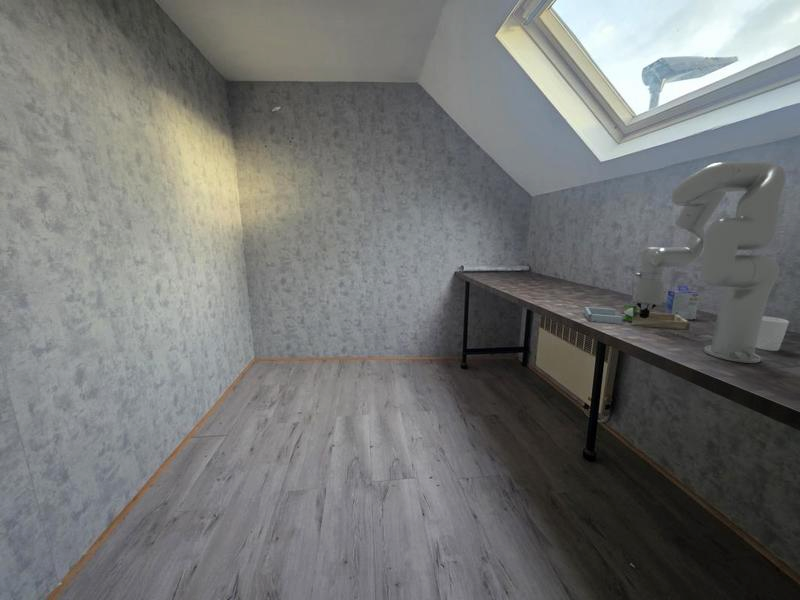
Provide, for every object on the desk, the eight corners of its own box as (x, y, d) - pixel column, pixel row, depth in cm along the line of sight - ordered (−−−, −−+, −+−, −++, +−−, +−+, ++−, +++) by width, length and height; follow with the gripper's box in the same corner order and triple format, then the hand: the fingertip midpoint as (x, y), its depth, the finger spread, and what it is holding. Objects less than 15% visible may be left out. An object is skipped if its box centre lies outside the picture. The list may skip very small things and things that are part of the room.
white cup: (760, 351, 106) (767, 321, 104) (740, 342, 114) (746, 315, 112) (789, 352, 105) (796, 322, 103) (766, 344, 112) (773, 316, 110)
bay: (621, 324, 137) (622, 317, 136) (588, 320, 142) (588, 314, 141) (614, 315, 151) (615, 309, 150) (584, 312, 156) (584, 306, 155)
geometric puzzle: (618, 312, 148) (622, 300, 142) (637, 313, 145) (641, 301, 140) (621, 325, 143) (624, 313, 138) (639, 325, 141) (644, 313, 135)
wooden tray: (688, 330, 128) (690, 322, 128) (632, 324, 136) (633, 317, 135) (675, 320, 141) (676, 314, 141) (624, 316, 149) (625, 310, 148)
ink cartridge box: (687, 316, 148) (693, 285, 145) (696, 320, 142) (702, 287, 139) (663, 315, 150) (668, 285, 147) (670, 319, 144) (676, 287, 141)
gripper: (631, 276, 136) (624, 318, 140) (675, 278, 130) (667, 322, 134) (627, 274, 142) (621, 314, 146) (669, 276, 136) (662, 318, 140)
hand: (643, 318), depth 140 cm, fingers closed
